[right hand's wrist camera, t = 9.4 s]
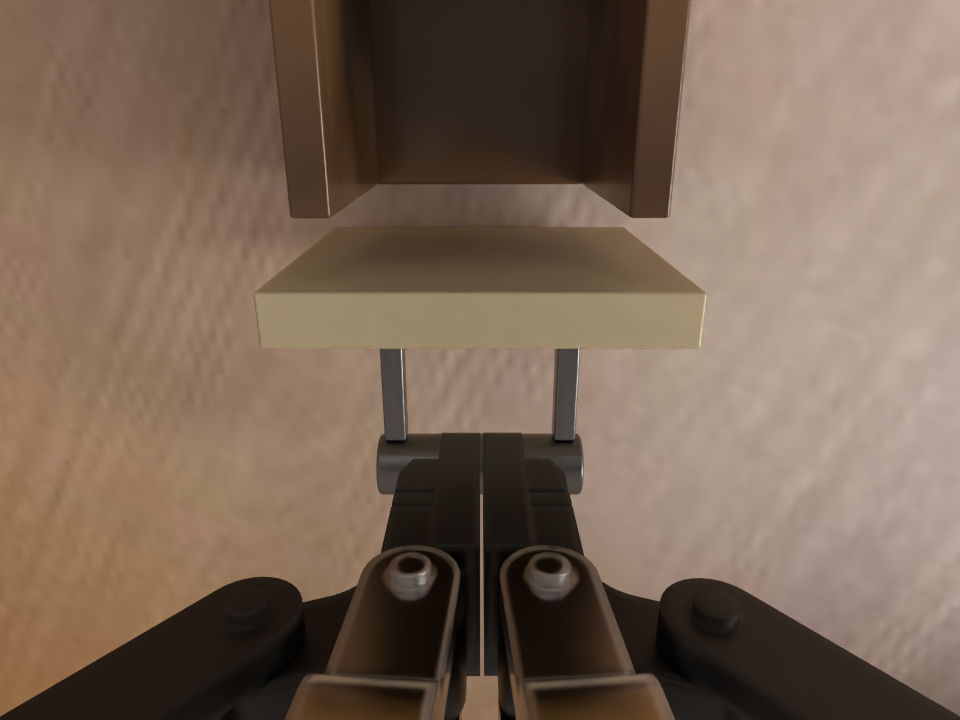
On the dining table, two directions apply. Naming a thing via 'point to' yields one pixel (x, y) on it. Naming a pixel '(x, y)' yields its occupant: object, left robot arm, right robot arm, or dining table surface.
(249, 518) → the dining table surface
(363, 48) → the drawer
